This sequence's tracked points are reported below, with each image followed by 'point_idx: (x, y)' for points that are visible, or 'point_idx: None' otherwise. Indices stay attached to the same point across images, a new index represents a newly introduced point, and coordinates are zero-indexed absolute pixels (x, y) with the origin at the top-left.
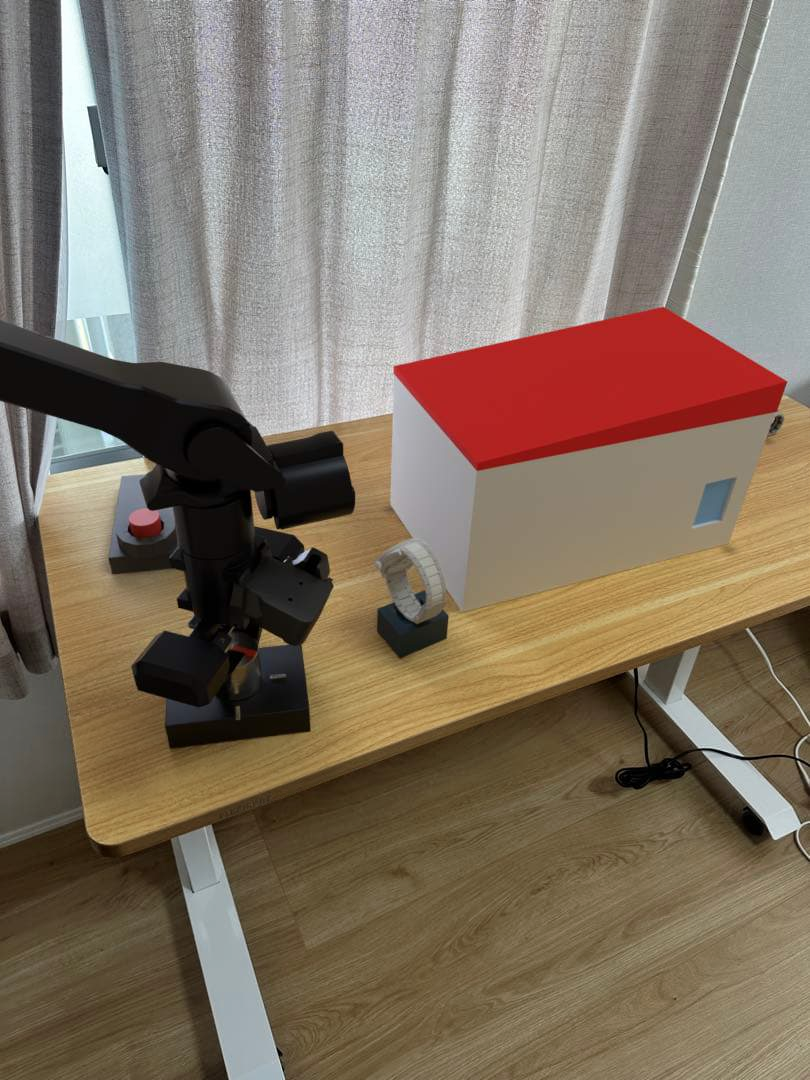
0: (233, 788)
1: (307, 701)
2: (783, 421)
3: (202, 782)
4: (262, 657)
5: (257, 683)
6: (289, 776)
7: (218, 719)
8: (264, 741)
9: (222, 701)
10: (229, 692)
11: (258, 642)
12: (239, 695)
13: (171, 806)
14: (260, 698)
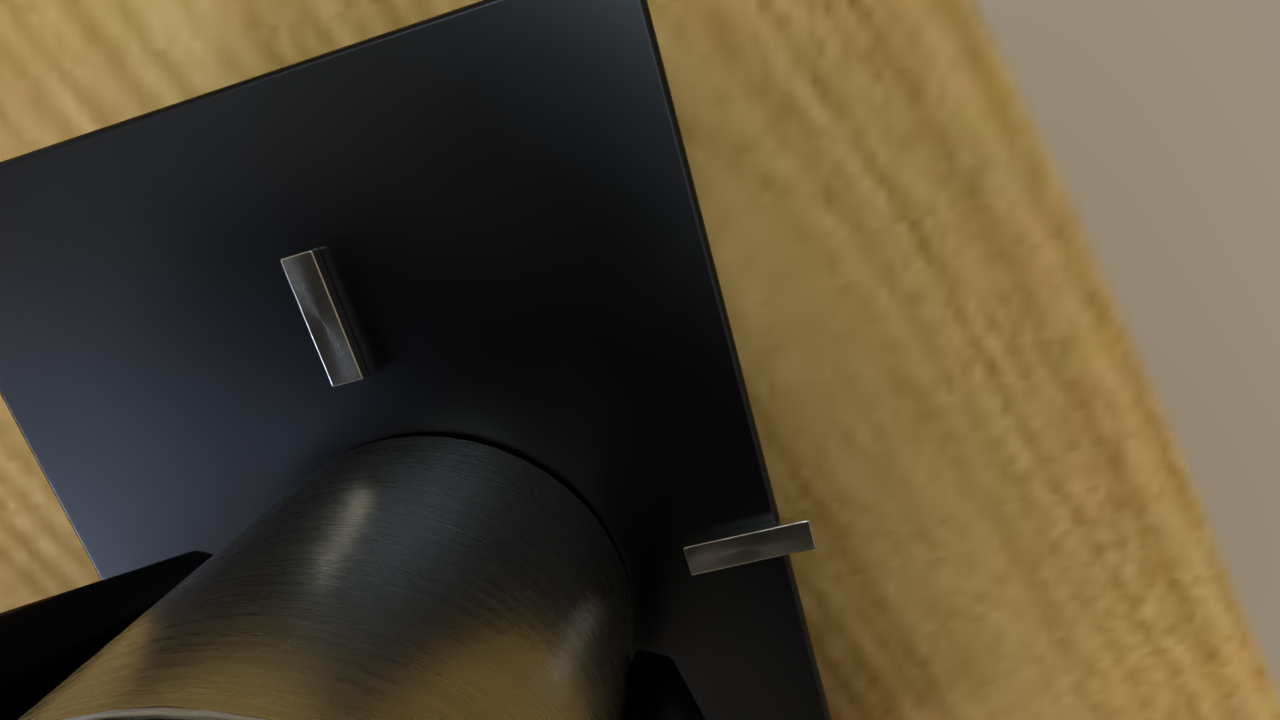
0: (1089, 400)
1: None
2: None
3: (1041, 561)
4: (159, 482)
5: (474, 479)
6: (1014, 87)
7: (808, 653)
8: (752, 301)
9: None
10: (664, 701)
11: (7, 623)
12: (616, 586)
13: (1182, 664)
14: (577, 410)
